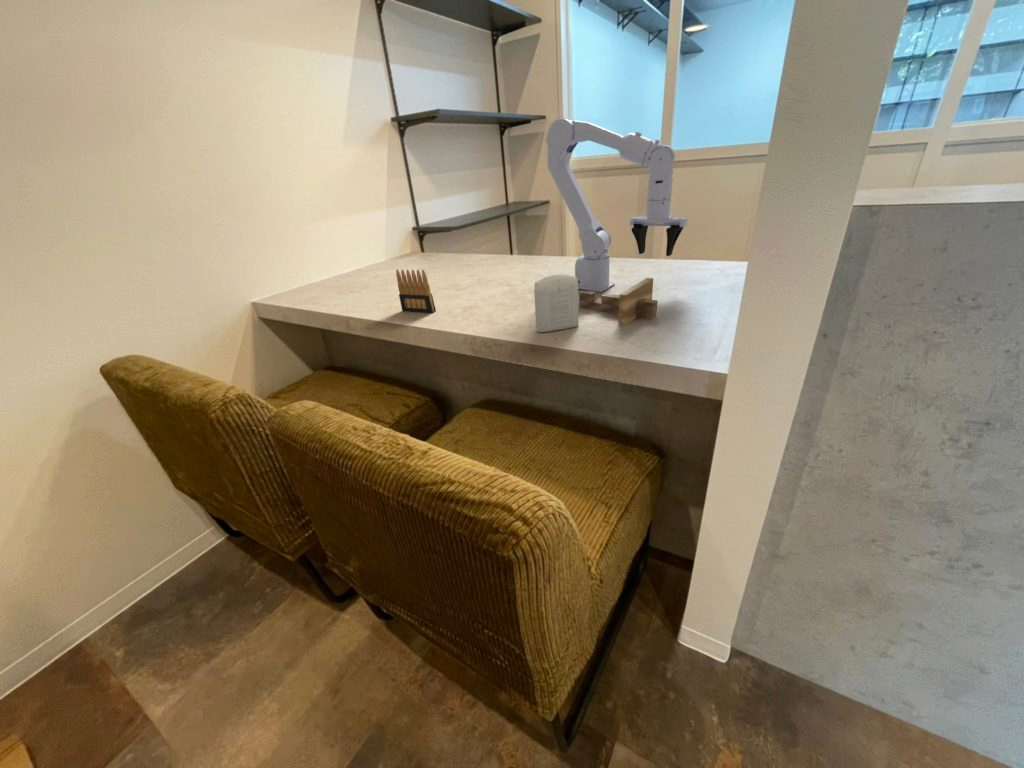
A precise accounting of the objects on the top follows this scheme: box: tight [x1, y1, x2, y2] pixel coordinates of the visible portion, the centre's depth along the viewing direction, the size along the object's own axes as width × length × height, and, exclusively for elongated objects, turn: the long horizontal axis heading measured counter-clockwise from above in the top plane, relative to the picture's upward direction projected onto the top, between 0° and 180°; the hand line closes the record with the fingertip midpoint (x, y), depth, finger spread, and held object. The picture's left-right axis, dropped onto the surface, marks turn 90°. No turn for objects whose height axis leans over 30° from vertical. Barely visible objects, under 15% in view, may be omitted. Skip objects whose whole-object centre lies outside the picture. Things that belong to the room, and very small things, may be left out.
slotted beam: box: [578, 289, 659, 321], centre depth 102 cm, size 20×2×4 cm, turn 49°
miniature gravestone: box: [533, 274, 580, 333], centre depth 95 cm, size 10×4×12 cm, turn 103°
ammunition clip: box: [395, 268, 437, 314], centre depth 116 cm, size 11×2×12 cm, turn 65°
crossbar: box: [617, 277, 654, 326], centre depth 98 cm, size 2×14×7 cm, turn 139°
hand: (655, 254), depth 111 cm, fingers open, 7 cm apart
